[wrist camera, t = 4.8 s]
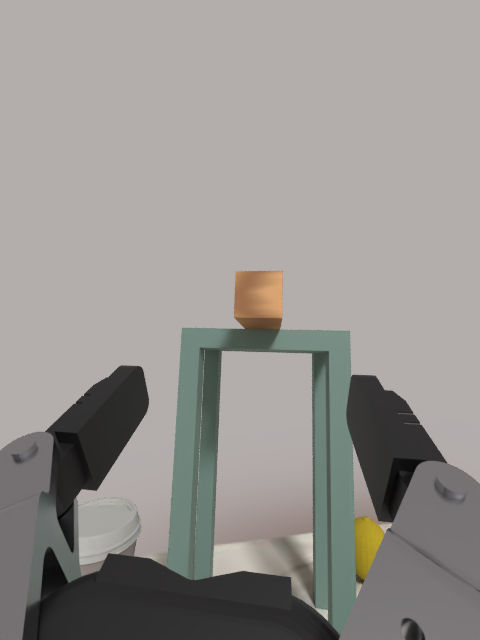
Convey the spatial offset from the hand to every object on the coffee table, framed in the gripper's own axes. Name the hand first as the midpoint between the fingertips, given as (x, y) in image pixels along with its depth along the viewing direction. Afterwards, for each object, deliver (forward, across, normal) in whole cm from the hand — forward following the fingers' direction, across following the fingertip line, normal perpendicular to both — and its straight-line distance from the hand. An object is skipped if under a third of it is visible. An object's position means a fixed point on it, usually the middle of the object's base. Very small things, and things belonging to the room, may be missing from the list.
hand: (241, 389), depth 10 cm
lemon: (+14, -14, +40) cm, 45 cm away
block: (+18, 0, +6) cm, 19 cm away
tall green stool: (+6, 0, +36) cm, 36 cm away
